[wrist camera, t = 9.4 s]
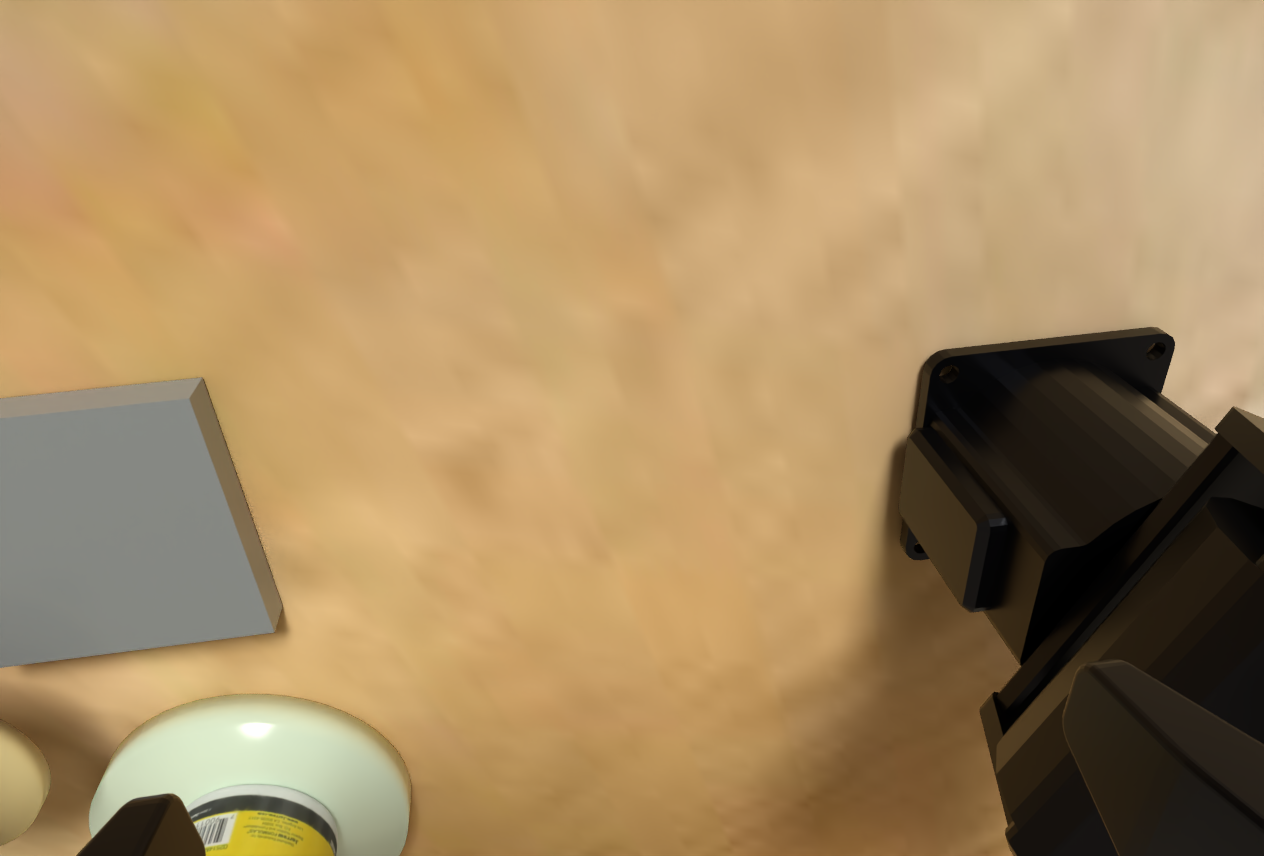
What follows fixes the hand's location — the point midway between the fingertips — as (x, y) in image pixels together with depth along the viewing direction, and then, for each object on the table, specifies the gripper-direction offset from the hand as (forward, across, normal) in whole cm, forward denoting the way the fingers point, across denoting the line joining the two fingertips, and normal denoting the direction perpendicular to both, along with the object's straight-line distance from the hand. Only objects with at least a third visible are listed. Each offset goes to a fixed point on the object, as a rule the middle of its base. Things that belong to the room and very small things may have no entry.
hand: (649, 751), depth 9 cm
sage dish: (+13, +11, +16) cm, 23 cm away
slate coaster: (+13, +12, +5) cm, 18 cm away
